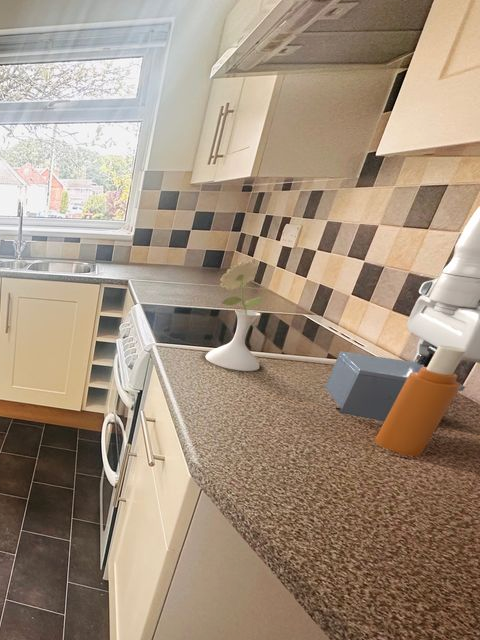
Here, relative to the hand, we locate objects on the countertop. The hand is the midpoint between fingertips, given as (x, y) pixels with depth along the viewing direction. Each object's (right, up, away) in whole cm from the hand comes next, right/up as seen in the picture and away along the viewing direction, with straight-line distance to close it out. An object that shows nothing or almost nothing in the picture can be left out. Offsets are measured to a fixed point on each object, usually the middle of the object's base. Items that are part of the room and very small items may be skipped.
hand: (428, 369), depth 76 cm
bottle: (-13, -14, -7) cm, 20 cm away
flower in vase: (-21, +1, +25) cm, 33 cm away
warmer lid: (-4, 0, +2) cm, 4 cm away
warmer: (-4, -8, +6) cm, 11 cm away
